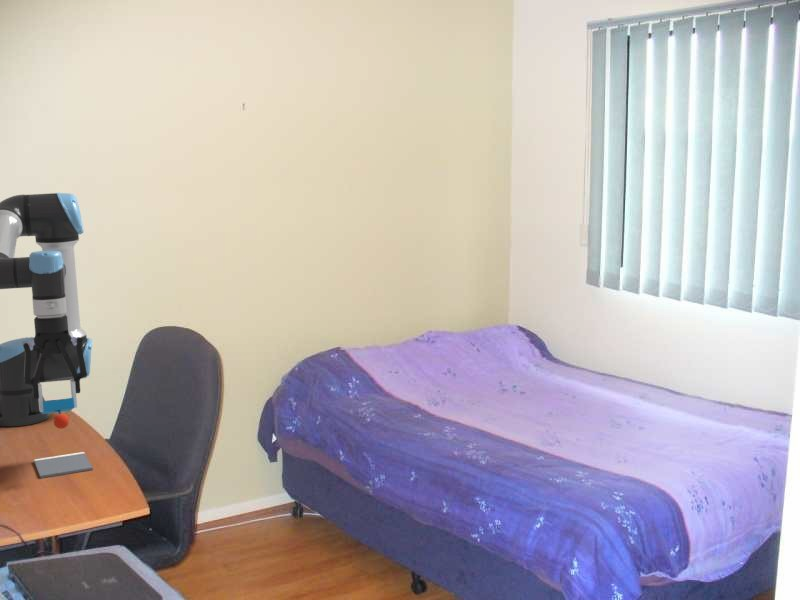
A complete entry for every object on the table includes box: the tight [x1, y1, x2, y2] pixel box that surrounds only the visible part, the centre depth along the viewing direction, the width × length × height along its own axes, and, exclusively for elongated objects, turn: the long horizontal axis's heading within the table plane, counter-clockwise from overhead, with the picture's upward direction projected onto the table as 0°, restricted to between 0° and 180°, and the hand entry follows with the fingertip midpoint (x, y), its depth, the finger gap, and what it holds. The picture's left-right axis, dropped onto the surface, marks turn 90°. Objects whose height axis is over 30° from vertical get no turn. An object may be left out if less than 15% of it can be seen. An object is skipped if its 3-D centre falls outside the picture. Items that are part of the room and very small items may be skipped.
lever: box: [42, 397, 76, 430], centre depth 239 cm, size 7×7×18 cm
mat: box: [33, 451, 94, 479], centre depth 241 cm, size 14×12×1 cm
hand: (58, 408), depth 239 cm, fingers closed on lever, 7 cm apart
